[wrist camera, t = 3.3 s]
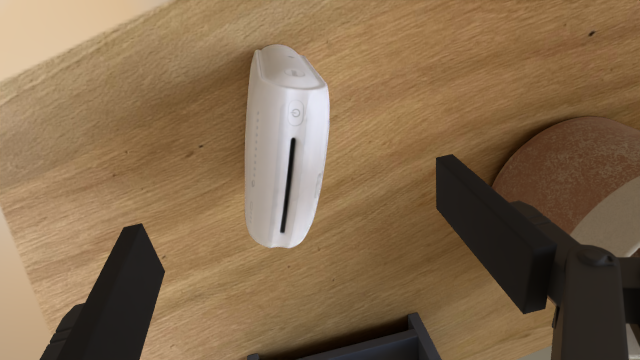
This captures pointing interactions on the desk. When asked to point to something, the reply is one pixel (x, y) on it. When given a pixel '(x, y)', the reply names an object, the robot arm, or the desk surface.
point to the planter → (582, 185)
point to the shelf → (385, 346)
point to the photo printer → (284, 146)
